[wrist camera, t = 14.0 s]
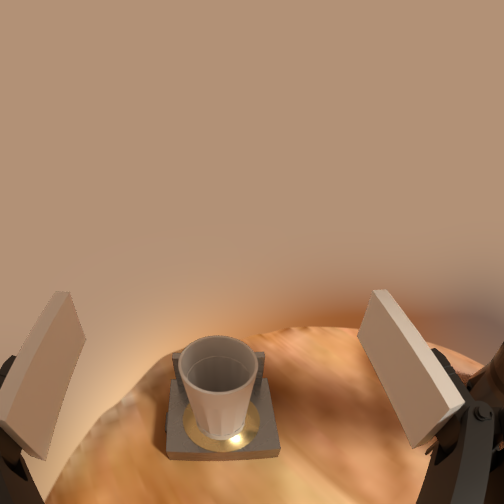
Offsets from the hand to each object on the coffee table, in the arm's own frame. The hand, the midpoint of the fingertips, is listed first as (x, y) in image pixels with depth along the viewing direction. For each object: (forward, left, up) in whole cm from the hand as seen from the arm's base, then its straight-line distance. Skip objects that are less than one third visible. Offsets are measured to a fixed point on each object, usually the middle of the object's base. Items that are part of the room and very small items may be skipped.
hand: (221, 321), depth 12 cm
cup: (0, -11, -27) cm, 29 cm away
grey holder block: (0, -12, -30) cm, 32 cm away
